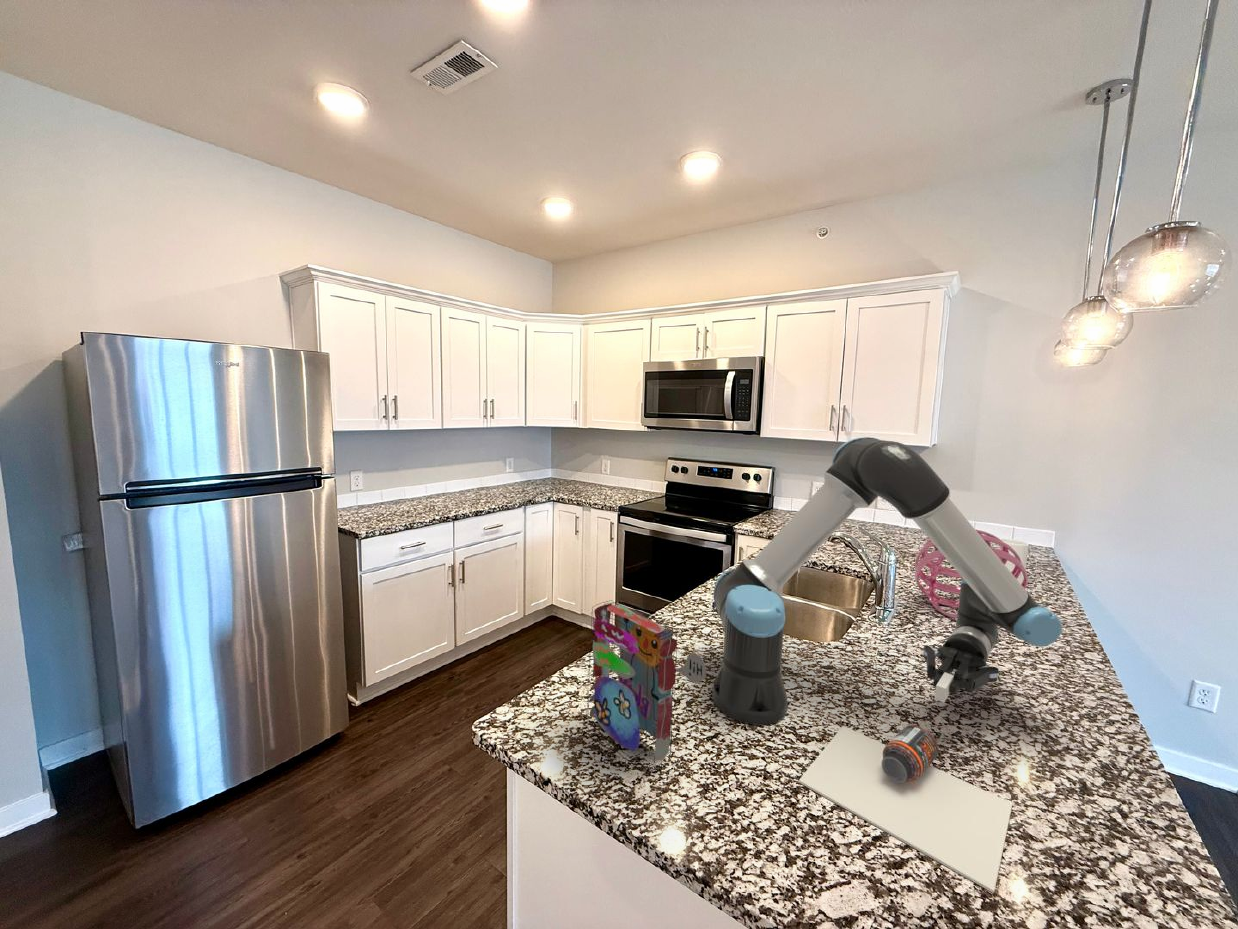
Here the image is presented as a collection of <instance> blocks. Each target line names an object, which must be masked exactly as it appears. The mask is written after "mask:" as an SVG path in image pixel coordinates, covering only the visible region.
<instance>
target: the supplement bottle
mask: <svg viewBox="0 0 1238 929" xmlns="http://www.w3.org/2000/svg"><path fill="white" fill-rule="evenodd" d="M885 745H886V746H885V748H884V750H883V760H882V769H883V771H884V772H885V774H886V775H887V776H888V777H889V778H890V779H891V780H893V781H895V782H898V783H902V782H905V781H914V780H916V779H918V778H919V777H920V776H921V775H922V773H923V772H924V771H925V770H926V769H927V768H928V766H929V765H930V766H931V764H932V763H933V762H934V760H936V758H937V757H938V756H939V755H938V754H939V746H938V742H937V740H936V738H935V737H934V736H933V735H932V733H930V731H928V729H925V728H924V727H922V726H919V725H916V724H910V725H909V724H908V725H907V726H905V727H903V729H901V730H900V731H899V733H897V734H896V735H895V736H894V737H893V738H892V739H891V740H890V741H889V742H888V743H887V744H885Z"/></svg>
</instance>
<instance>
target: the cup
mask: <svg viewBox="0 0 1238 929" xmlns="http://www.w3.org/2000/svg"><path fill="white" fill-rule="evenodd" d="M999 539H1000V540H1002V541H1003V542H1004V543H1006V544H1008V545H1009V546H1010V547H1012V548H1013V549H1014V550H1015V551H1016V553H1017V554H1018V555H1019V557H1020V559H1021V562H1022V564H1023V566H1024V567H1025V569H1026V570H1027V562H1028V561H1027V560H1028V555H1029V548H1030V547H1029V546H1030V543H1029V542H1027V541H1025V540H1019V539H1014V538H1013V539H1012V538H999ZM998 549H999V550H1000V546H999V545H998ZM1008 551H1009V554H1011V555H1012V556H1014V555H1013V553H1012V552H1011V551H1010V550H1008ZM1014 557H1015V556H1014ZM1005 566H1006V567H1007V568H1008V570H1009V571H1010V572H1012V571H1013V569H1014V567H1015V564H1013V563H1012V562H1010V561H1007V562H1006V564H1005ZM1017 580H1018V582H1019V583H1020V584H1022V582H1023V573H1022V571H1021V573H1020V575H1019V577H1018V578H1017Z"/></svg>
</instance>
